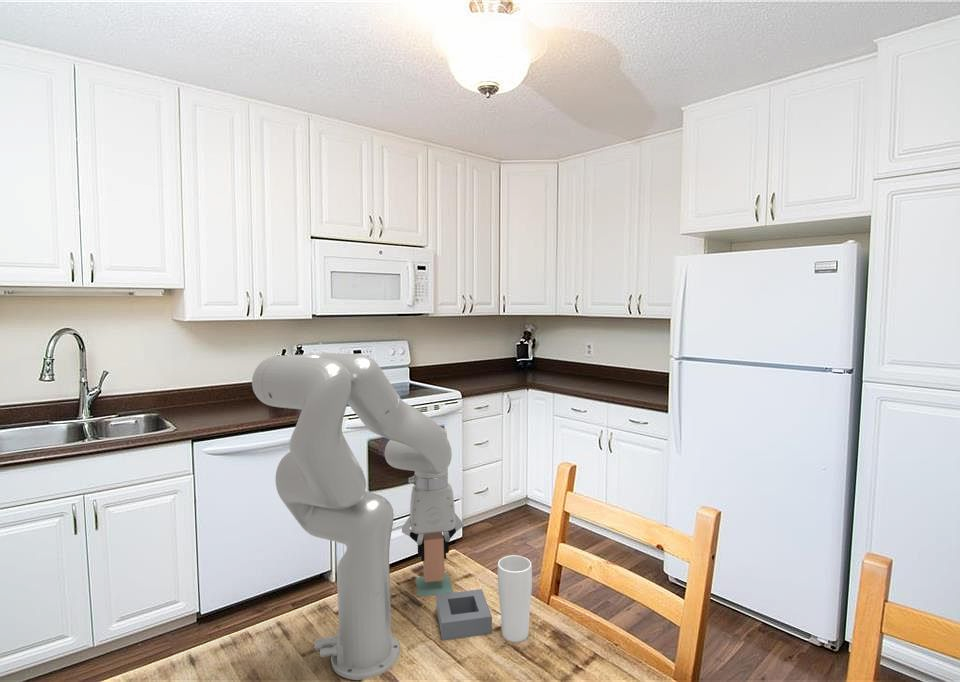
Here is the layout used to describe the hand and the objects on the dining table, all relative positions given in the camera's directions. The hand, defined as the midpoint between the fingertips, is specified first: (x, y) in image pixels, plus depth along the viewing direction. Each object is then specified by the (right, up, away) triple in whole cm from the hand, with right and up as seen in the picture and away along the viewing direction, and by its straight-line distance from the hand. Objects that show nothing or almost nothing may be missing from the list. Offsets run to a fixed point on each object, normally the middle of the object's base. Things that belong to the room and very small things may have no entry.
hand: (433, 556), depth 121 cm
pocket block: (+7, -8, -13) cm, 17 cm away
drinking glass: (+18, -9, -17) cm, 26 cm away
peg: (0, -5, 0) cm, 5 cm away
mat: (0, -7, 0) cm, 7 cm away
